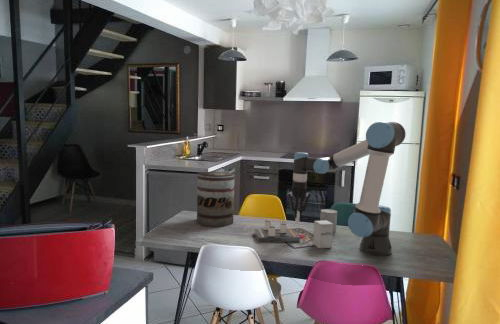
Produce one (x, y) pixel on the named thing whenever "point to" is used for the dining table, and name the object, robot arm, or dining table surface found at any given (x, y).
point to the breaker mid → (283, 228)
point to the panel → (277, 236)
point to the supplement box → (323, 234)
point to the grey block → (329, 217)
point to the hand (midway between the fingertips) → (297, 223)
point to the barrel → (215, 199)
